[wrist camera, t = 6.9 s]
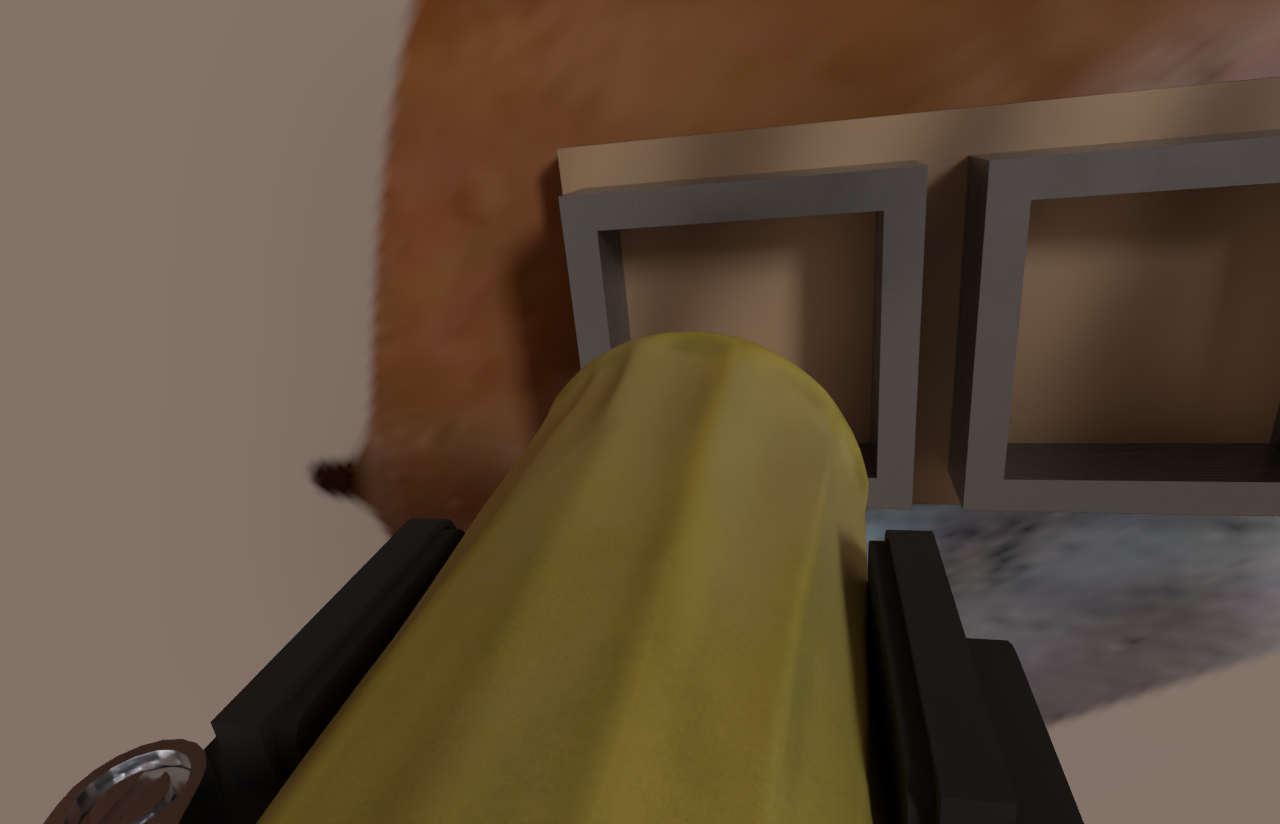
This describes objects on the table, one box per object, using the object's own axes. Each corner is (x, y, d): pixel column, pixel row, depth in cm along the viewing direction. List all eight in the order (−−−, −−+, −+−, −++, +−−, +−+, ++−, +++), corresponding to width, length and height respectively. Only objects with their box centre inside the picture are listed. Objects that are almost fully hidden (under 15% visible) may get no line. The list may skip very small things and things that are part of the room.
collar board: (1409, 63, 18) (1447, 60, 17) (1296, 491, 22) (1321, 511, 21) (568, 147, 23) (556, 148, 22) (609, 482, 27) (601, 497, 26)
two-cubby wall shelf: (1396, 118, 17) (1510, 119, 15) (1302, 474, 21) (1379, 530, 18) (583, 188, 22) (551, 198, 19) (616, 468, 26) (593, 511, 23)
